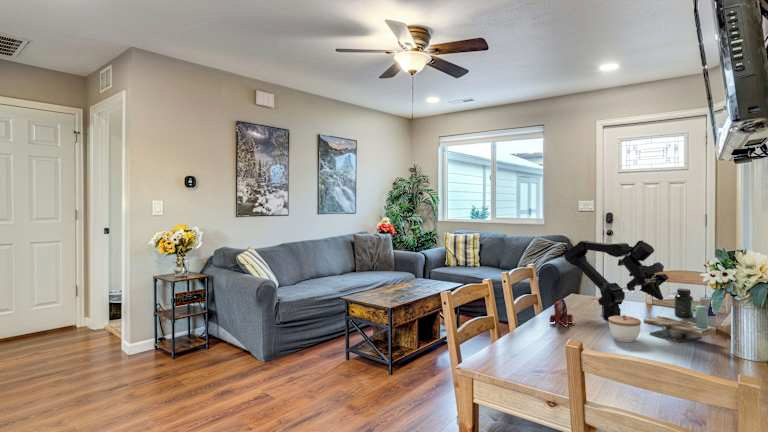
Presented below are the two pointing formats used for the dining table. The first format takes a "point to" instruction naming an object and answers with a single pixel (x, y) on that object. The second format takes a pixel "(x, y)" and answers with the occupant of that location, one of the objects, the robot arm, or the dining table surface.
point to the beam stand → (673, 334)
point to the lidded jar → (624, 328)
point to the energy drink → (711, 317)
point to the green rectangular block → (701, 319)
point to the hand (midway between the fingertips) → (662, 299)
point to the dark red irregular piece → (561, 313)
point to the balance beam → (678, 326)
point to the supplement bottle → (683, 304)
